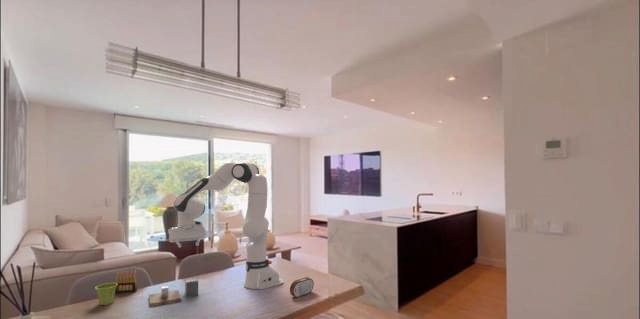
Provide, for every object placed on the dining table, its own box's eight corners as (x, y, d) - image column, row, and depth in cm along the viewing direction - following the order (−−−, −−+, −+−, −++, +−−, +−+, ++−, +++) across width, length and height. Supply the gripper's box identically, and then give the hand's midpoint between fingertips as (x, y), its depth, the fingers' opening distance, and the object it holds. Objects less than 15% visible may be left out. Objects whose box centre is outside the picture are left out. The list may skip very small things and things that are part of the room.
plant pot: (92, 303, 163) (93, 286, 164) (114, 298, 170) (114, 281, 171) (97, 308, 157) (98, 290, 158) (119, 302, 164) (120, 285, 164)
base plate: (178, 292, 177) (178, 289, 178) (180, 301, 165) (180, 298, 165) (149, 297, 171) (149, 294, 171) (149, 306, 158) (149, 303, 159)
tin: (310, 290, 179) (310, 275, 179) (314, 292, 176) (314, 276, 177) (289, 298, 168) (289, 281, 168) (293, 299, 166) (293, 282, 166)
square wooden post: (167, 294, 170) (167, 286, 170) (168, 296, 167) (168, 287, 168) (161, 296, 169) (161, 287, 169) (161, 297, 166) (161, 288, 166)
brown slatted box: (136, 290, 182) (137, 268, 182) (135, 291, 180) (135, 269, 180) (116, 291, 180) (116, 269, 181) (114, 293, 178) (115, 270, 179)
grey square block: (196, 291, 179) (196, 277, 179) (198, 295, 173) (198, 280, 174) (184, 293, 176) (184, 279, 176) (186, 297, 171) (186, 282, 171)
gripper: (168, 224, 189) (169, 244, 180) (205, 222, 199) (207, 240, 190) (167, 231, 192) (168, 251, 183) (203, 228, 202) (206, 247, 193)
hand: (188, 246), depth 187 cm, fingers open, 8 cm apart
